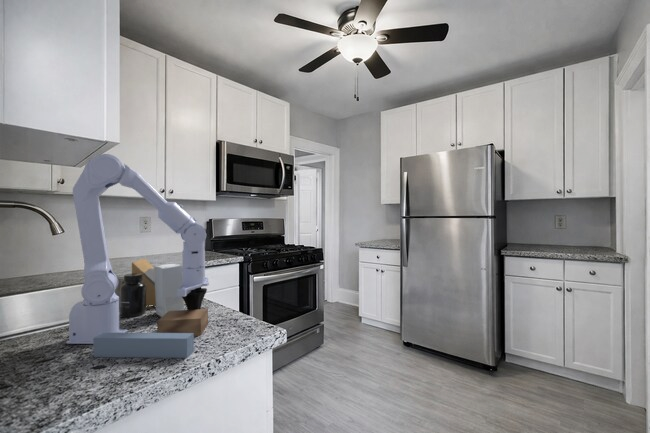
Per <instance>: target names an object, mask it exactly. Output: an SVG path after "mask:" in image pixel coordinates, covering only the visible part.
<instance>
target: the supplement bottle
mask: <svg viewBox="0 0 650 433" xmlns="http://www.w3.org/2000/svg"><path fill="white" fill-rule="evenodd" d="M142 280H143V274H141V273H133V274H132V273H128V274H127V273H126V274H124V275H123V282H124V283H122V285H121V286H120V288H119V317H121V318H134V317H135V316H136V317H139V315H140V316H142V314H143V315H145V313H146V312H147V307H146V284H145V283H144V282H142ZM136 317H135V318H136Z"/></svg>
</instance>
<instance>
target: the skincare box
mask: <svg viewBox="0 0 650 433" xmlns="http://www.w3.org/2000/svg"><path fill="white" fill-rule="evenodd" d="M153 267H154V275H155V298H156V307H155V314H156V315H158V316H159V317H160V318H161V317H162V316H164V315H165V314H166V313H167V312H168V311H176V310H185V304H184V300H183V298H182V297H177V289H179V288H180V286H181V285H182V283H183V269H182V268H183V264H175V263H168V264H166V263H165V264H159V265H153Z"/></svg>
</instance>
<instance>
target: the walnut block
mask: <svg viewBox="0 0 650 433" xmlns="http://www.w3.org/2000/svg"><path fill="white" fill-rule="evenodd" d="M208 325H209V308H201V309H195V310H187V309H184V310H176V311H168V312H167V313H166V314H165V315H164V316H162V317H161V316H160V318H159V319H158V320H157V333H194V337H202V335H203V333H204V332H205V330H206V328H208Z"/></svg>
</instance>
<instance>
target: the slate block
mask: <svg viewBox="0 0 650 433" xmlns="http://www.w3.org/2000/svg"><path fill="white" fill-rule="evenodd" d="M92 345H93V357H94V358H160V359H161V358H165V359H167V358H168V359H169V358H174V359H175V358H178V359H179V358H183V359H185V358H186V359H187V358H188V357H190V356H191V355H192V354H193V353H194V350H195V348H194V347H195V336H194V333H158V332H126V333H102V334H100V335H98V336H96V337H94V338H93V344H92Z"/></svg>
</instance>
